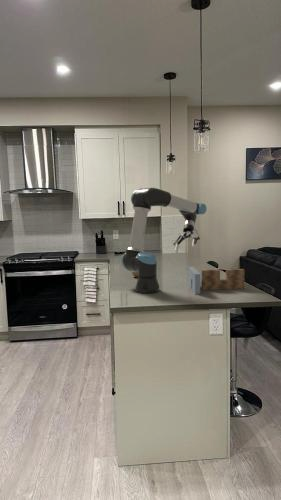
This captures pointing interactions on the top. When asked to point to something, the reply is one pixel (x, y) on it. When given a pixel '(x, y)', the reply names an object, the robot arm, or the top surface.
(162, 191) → the robot arm
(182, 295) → the top surface
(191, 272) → the slate plate
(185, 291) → the top surface
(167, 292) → the top surface
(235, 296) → the top surface
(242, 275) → the brown wooden panel
